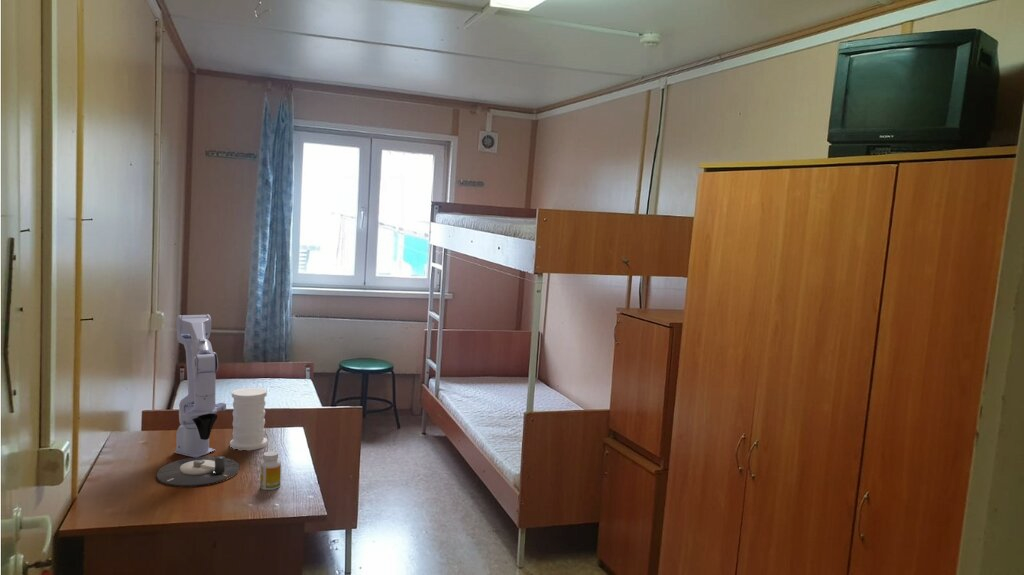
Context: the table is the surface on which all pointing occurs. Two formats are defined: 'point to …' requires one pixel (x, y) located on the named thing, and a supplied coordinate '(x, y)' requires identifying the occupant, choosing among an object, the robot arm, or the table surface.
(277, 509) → the table surface
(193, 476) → the dial plate
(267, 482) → the supplement bottle
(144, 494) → the table surface
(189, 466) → the dial
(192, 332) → the robot arm
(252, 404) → the decorative container
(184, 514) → the table surface
